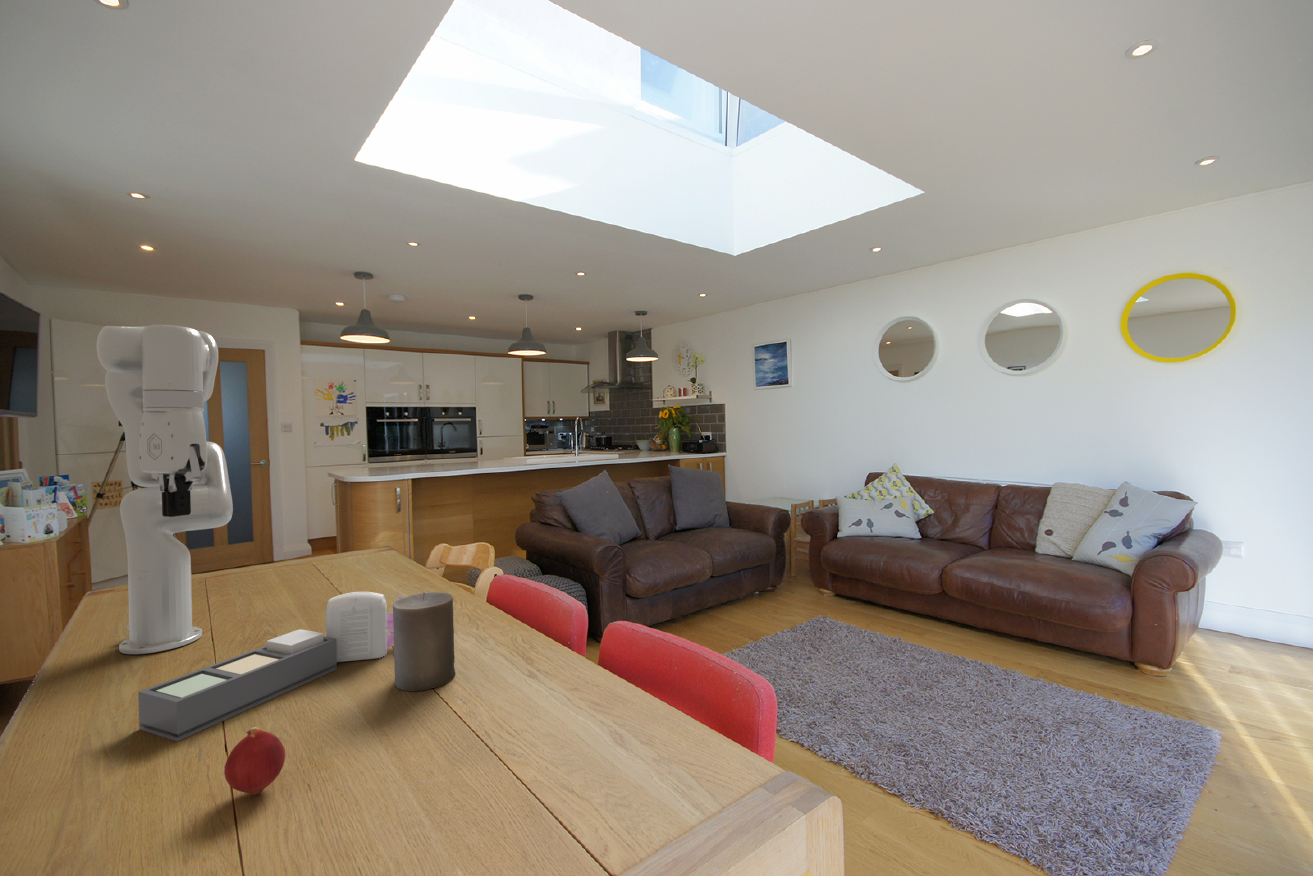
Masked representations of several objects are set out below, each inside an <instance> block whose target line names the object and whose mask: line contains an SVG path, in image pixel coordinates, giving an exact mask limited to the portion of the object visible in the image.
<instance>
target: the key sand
mask: <svg viewBox="0 0 1313 876" xmlns="http://www.w3.org/2000/svg"><path fill="white" fill-rule="evenodd" d="M276 660H279V659H275V658H270V657H265V656H261V655H256V654H254V655H251V656H249V657H246V658H243V659H241V660H238V661H235V662H232V663H230V664H227V665H224V666H222V667H219V668H216V669H218V670H222V671H226V672H231V673H235V674H239V675H241V674H243V673H246V672H248V671H251V670H254V669H256V668H259V667H261V666H264V665H266V664H269V663H271V662H274V661H276Z"/></svg>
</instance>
